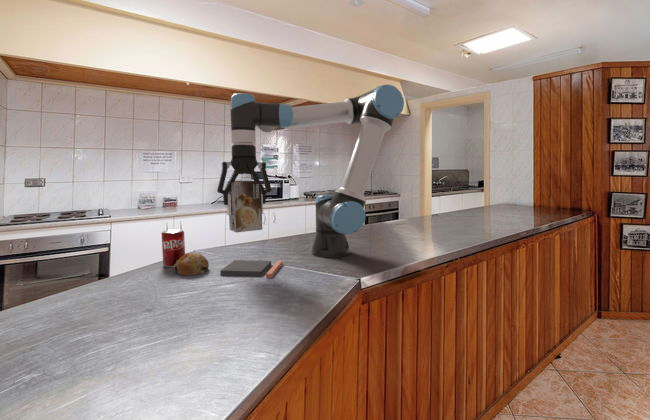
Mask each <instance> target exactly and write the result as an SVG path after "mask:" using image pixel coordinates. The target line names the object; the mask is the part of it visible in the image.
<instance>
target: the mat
mask: <svg viewBox="0 0 650 420" xmlns="http://www.w3.org/2000/svg"><path fill="white" fill-rule="evenodd" d="M271 266H272V261H271V260H254V259H253V260H252V259H251V260H250V259H247V260H243V259H240V260H239V259H234V260H232V261H231V262H230V263H229V264H227V265H226V266H225V267H223V268H222V269H221V270H220V276H238V277H239V276H243V277H262V276H263V275H264V274H265V273H266V272H267V271H268V269H270V268H271Z"/></svg>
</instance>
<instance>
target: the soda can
mask: <svg viewBox="0 0 650 420" xmlns="http://www.w3.org/2000/svg"><path fill="white" fill-rule="evenodd" d="M160 234H161V249H162V250H161V251H162V254H161V255H162V265H163V266H164V267H165V268H174V265H175V264H176V261H177V260H178V259H179V258H181V257H182V256H183V255H185V254H186V241H185V238H186V237H185V231H184V229H177V228H176V229H167V230H162V232H161V233H160Z"/></svg>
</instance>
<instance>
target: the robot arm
mask: <svg viewBox="0 0 650 420" xmlns="http://www.w3.org/2000/svg"><path fill="white" fill-rule="evenodd" d="M402 94H403V93H402V92H401V91H400V89H399V88H397V87H396V86H395V85H392V84H383V85H378V86H376V87H375V88H374V89H371V90H369V91H366V92H365V93H362V94H359V95H358V96H355V97H347V98H345V99H344V101H339V102H329V103H321V104H320V103H319V104H308V105H300V106H292V105H291V104H288V103H287V104H286V103H282V102H280V103H275V102H258V101H256V98H255V97H256V96H255V95H253V94H250V93H244V92H243V93H242V92H241V93H233V95H231V97H230V129H231V130H230V131H231V132H230V133H231V135H230V138H231V143H232V144H233V145H232V146H231V160H230V161H222V162H221V173H220V178H219V182H218V186H217V190H216V191H217V193H218V194H222V196H223V205H224V206H226V214H227V215H226V216H228V217H229V216H231V195H228V193H229V191H230V189H231V181H237V180H236V179H237V178H238V176H239V175H244V174H245V175H249V176H251V178H252V181H261V180H260V179H259V177H258V174H257V173H256V171H255V169H256V168H257V167H258V169H259V171H260V174H261V179H262V181H263V184H262V183H261V202H262V215H263V214H264V205H265V204H266V202H267V201H266V199H267V197H266V195H267V194H268V193H271V192H272V188H271V187H272V186H271V184H270V181H269V176H268V172H267V170H266V167H267V163H266V162H265V161H263V162H260V161H259V162H258V160H257V153H256V152H257V147H256V146H255V144H256V143H257V142H256V139H257V138H256V137H257V136H256V127H257V128H258V129H259V130H260V132H261V131H262V132H264V133H271V132H272V131H273V132H274V131H279V130H281V131H282V130H287V129H298V128H305V127H317V126H323V125H332V124H333V125H334V124H339V123H346V124H347V125H354V124H355V125H356V124H358V125H359V124H360V125H361V128H360V130H359V133H358V135H357V139H356V142H355V145H354V147H353V151H352V153H351V157H350V160H349V163H348V165H347V168H346V171H345V175H344V177H343V181H342V183H341V186H340V188H338V189H336V190H335V191H334V193H333V194H324V195H323V194H322V195H318V196H317V197H316V198H315V203H314V205H315V235H314V238H313V242H312V245H311V255H313V256H316V257H323V258H340V257H345V256H348V255H350V254H351V253H350V245H349V242H348V239H347V235H352V234H355V233H357V232H358V231H360V230H361V228H362V227H363V226H364V223H366V212H365V205H366V203H367V200H366V198H365V196H364V194H365V192H366V189H367V186H368V183H369V180H370V177H371V174H372V171H373V169H374V165H375V163H376V159H377V156H378V154H379V151H380V149H381V145H382V142H383V140H384V139H383V138H384V136H385V133H386V132H388V131H391V129H392V126H393V123H394V120H395V119H396V118H398V117H399V116H400V115H401V114H402V113H403V111H404V106H405V100H404V97H403V95H402ZM230 166H231V167H232V168H233V171H232V174H231V177H230V178H229V180H228V181H229V182H228V181H227V184H226V186H225V188H224V184H225V182H226V178H227V173H228V169H229V168H230ZM263 185H264V186H263Z"/></svg>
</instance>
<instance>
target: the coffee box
mask: <svg viewBox="0 0 650 420" xmlns="http://www.w3.org/2000/svg"><path fill="white" fill-rule="evenodd" d="M228 182H229V180H227V183H228ZM261 184H262V181H261V180H260V181H254V180H235V181H231V189H230V191H229V193H228V195H231V216H228V220H229V222H228V223H229V225H228V226H229V230H230V231H232V232H234V233H244V232H245V233H246V232H253V231H262V230H263V214H262V202H261Z"/></svg>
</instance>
